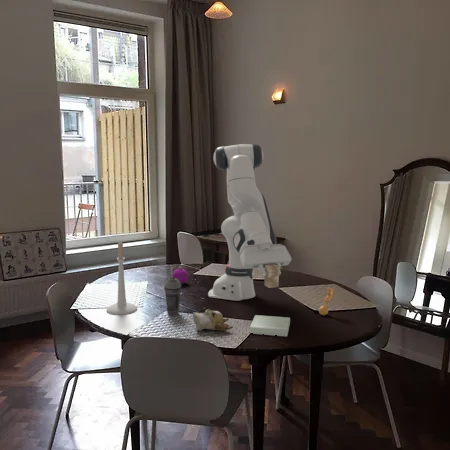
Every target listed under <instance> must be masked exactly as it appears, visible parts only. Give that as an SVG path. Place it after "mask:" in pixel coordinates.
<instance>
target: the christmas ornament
mask: <svg viewBox="0 0 450 450" xmlns="http://www.w3.org/2000/svg"><path fill="white" fill-rule="evenodd" d="M172 272H173V278H177V279H178V280H179V281H180V283H181V285H184V284H185V283H186V282H187V281H188V278H189V273H188V271H187V270H186V269H184V268H183V267H182V266H181V264H179V266H178V268H176V269H175V270H174V271H172Z"/></svg>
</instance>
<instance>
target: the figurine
mask: <svg viewBox="0 0 450 450" xmlns="http://www.w3.org/2000/svg"><path fill="white" fill-rule="evenodd" d="M326 290H327V292H326V293H325V294H324V299H323V300H324V302H325V303H324V304H322V305H321V306H320V307H318V312H319V314H320V315H322V316H327V314H328V313H329V307H328V304H329V303H330V301H331V299H332V297H333V296H334V292H335V289H333V288H330V286H329V287H327V288H326Z"/></svg>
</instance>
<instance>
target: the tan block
mask: <svg viewBox="0 0 450 450" xmlns="http://www.w3.org/2000/svg"><path fill="white" fill-rule="evenodd" d="M264 270H265V271H268V276H267V277H263V278H264V281H263V283H264V284H263V285H264V286H265V287H267V288H269V289H272V288H279V286H280V285H279V284H280V281H279V280H280V279H279V278H280V275H279V266H277V265H275V264H270V265H265V267H264Z"/></svg>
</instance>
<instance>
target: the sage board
mask: <svg viewBox="0 0 450 450" xmlns="http://www.w3.org/2000/svg"><path fill="white" fill-rule="evenodd" d="M290 325H291V317H288V316H287V317H284V316H274V315H273V316H272V315H257V314H255V315H254V317H253V319H252V322H251V324H250V325H249V334H250V333H253V335H263V334H264V335H265V336H266V335H267V336H275V335H277V337H288V334H289V329H290ZM264 335H263V336H264Z"/></svg>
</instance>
